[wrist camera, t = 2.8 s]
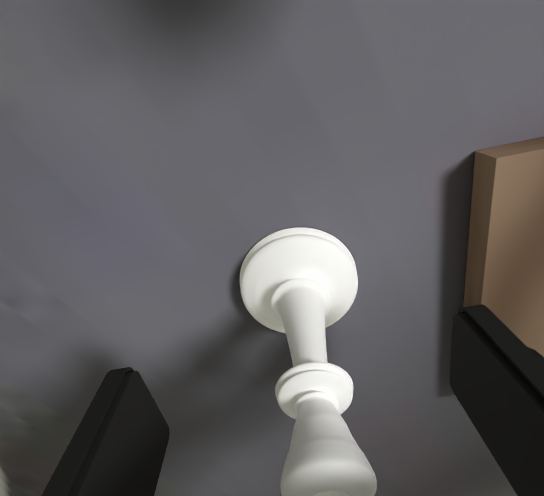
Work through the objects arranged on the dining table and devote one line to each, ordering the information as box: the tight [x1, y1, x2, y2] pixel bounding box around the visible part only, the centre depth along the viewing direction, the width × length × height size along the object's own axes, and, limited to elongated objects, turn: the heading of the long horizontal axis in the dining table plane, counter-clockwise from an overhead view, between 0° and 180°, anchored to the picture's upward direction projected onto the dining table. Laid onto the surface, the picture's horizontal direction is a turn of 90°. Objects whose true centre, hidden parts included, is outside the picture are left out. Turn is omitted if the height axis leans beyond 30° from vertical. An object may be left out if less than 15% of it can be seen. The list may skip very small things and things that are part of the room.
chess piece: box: [240, 228, 377, 496], centre depth 9 cm, size 5×5×10 cm
